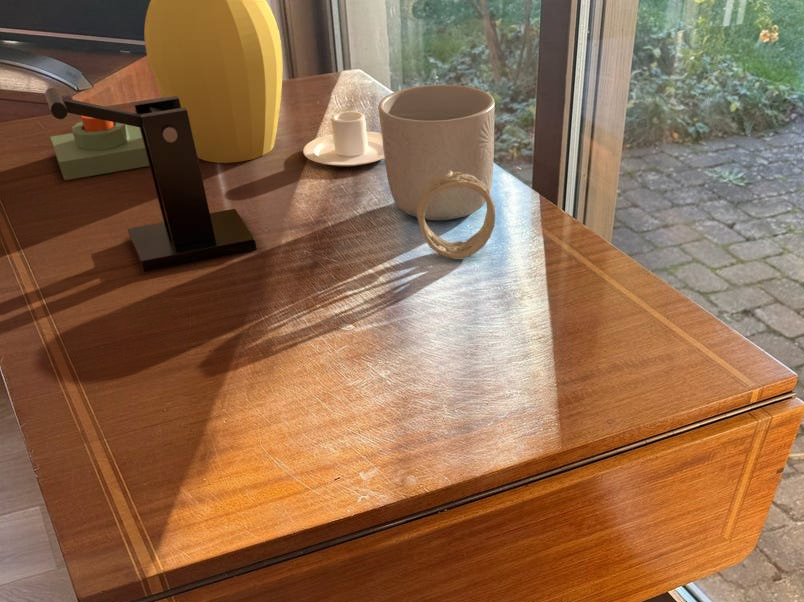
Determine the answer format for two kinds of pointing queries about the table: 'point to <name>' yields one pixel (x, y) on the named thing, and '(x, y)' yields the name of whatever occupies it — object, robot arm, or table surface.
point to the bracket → (181, 197)
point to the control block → (99, 150)
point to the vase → (219, 72)
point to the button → (96, 124)
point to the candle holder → (346, 143)
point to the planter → (437, 145)
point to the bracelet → (459, 248)
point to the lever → (91, 110)
